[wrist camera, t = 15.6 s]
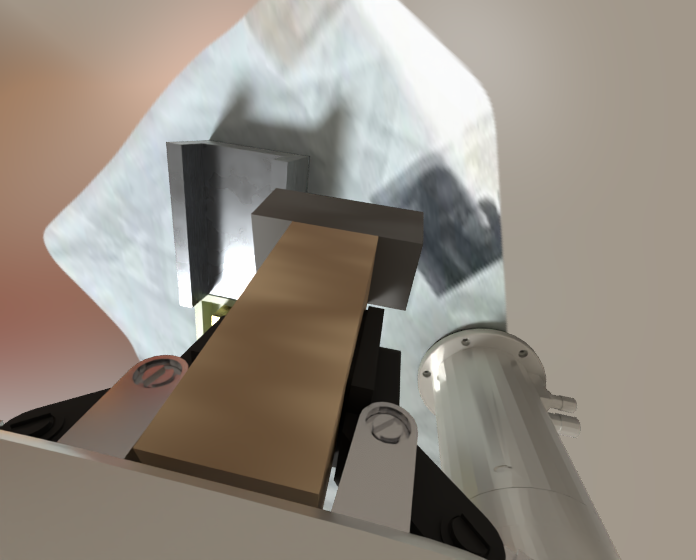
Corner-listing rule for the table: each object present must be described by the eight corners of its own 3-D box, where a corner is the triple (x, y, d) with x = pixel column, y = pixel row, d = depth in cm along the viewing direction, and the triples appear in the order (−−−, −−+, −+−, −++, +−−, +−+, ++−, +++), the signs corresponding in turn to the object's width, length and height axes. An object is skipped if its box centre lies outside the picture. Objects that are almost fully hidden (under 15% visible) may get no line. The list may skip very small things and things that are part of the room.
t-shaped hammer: (423, 212, 13) (419, 518, 5) (408, 273, 15) (386, 575, 7) (276, 187, 14) (46, 426, 5) (278, 250, 16) (109, 501, 7)
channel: (309, 156, 30) (287, 161, 24) (297, 296, 36) (278, 325, 30) (208, 140, 31) (165, 142, 25) (213, 279, 36) (179, 305, 31)
